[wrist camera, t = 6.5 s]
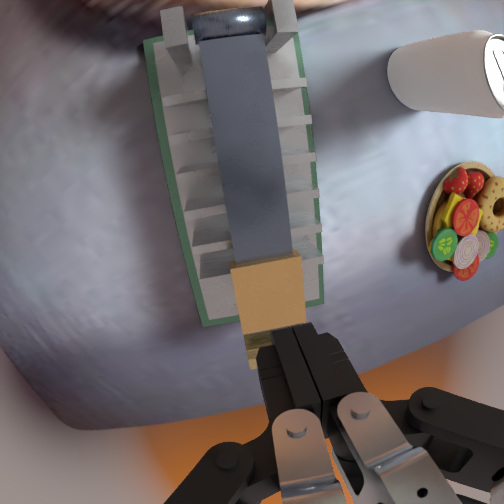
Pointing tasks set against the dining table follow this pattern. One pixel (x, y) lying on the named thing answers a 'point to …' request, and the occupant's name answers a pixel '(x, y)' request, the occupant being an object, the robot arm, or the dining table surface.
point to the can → (451, 74)
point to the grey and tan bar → (251, 168)
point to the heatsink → (207, 169)
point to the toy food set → (465, 218)
